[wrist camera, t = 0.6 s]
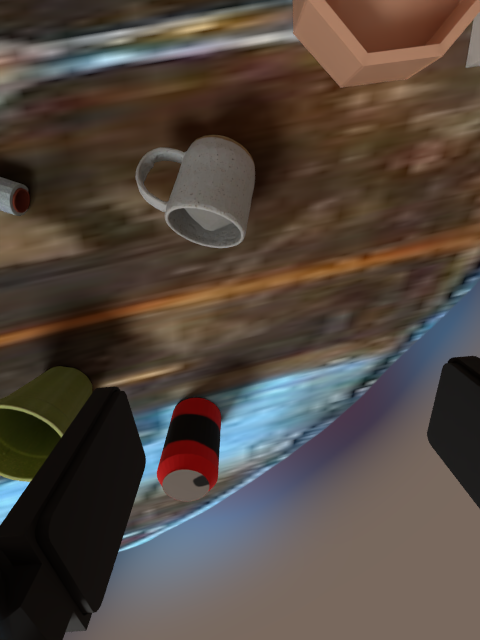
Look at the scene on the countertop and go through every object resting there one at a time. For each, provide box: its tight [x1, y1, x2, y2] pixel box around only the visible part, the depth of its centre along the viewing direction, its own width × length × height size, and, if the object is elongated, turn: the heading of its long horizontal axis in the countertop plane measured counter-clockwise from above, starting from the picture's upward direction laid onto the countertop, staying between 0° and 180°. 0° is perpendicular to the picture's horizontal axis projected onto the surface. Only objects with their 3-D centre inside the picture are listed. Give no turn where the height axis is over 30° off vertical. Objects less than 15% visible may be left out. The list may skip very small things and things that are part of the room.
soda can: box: [157, 398, 221, 501], centre depth 40 cm, size 8×8×12 cm
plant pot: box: [0, 366, 92, 482], centre depth 38 cm, size 12×12×11 cm
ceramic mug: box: [136, 135, 255, 248], centre depth 27 cm, size 11×8×8 cm
